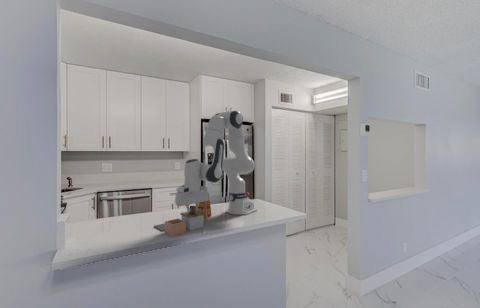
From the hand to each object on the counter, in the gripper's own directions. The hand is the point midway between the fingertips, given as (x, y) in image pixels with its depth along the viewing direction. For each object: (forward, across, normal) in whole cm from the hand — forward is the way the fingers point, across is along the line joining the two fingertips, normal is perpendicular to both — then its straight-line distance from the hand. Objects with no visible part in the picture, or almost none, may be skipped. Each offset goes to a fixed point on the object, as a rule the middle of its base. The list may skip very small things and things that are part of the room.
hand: (192, 211), depth 137 cm
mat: (+9, +11, -10) cm, 17 cm away
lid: (+2, 0, 0) cm, 2 cm away
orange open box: (+9, +12, +2) cm, 15 cm away
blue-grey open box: (+9, 0, 0) cm, 9 cm away
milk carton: (+9, -15, -11) cm, 21 cm away
